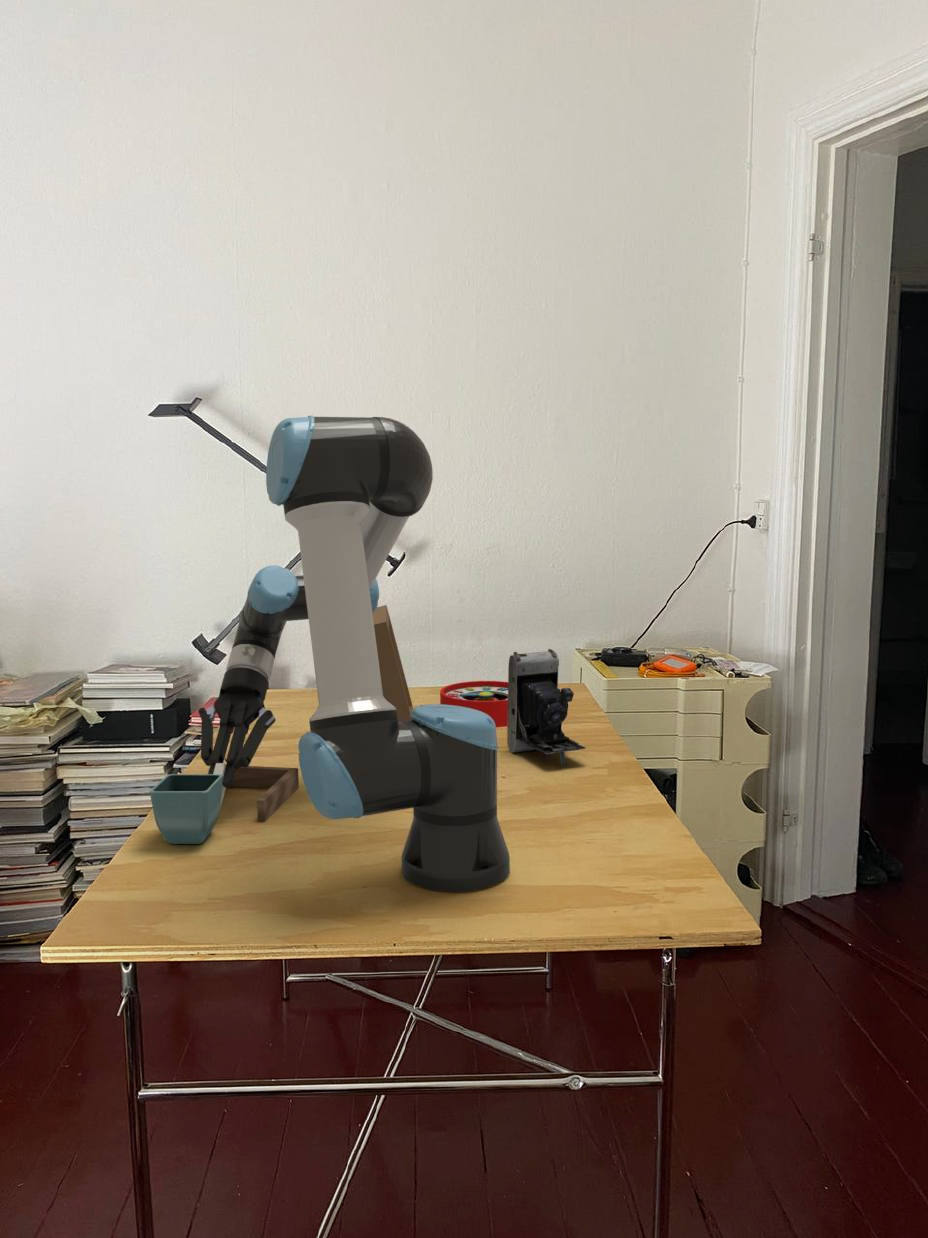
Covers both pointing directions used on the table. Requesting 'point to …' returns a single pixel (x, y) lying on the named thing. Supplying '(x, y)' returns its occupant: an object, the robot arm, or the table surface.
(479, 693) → the toy clock
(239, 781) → the wooden tray rim
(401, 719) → the photo frame
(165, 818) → the flower pot
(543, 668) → the vintage camera
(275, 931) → the table surface
